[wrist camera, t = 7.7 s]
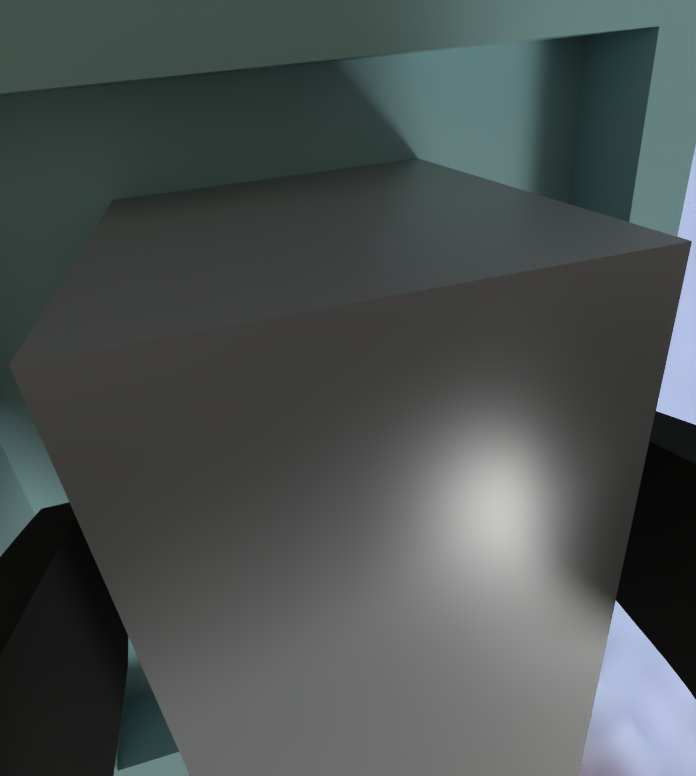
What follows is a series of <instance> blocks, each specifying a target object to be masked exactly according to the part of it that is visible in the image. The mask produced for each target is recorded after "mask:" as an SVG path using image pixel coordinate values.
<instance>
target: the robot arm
mask: <svg viewBox="0 0 696 776" xmlns="http://www.w3.org/2000/svg"><path fill="white" fill-rule="evenodd" d="M616 601H617V602H618V603H619V604H620V606H621V607H622V608H623V609H624V610H625V612H626V613H627V614H628V615H629V616H630V617H631V619H632V620H633V621H634V622H635V623H636V625H637V626H638V627H639V628H640V629H641V631H642V632H643V633H644V634H645V635H646V637H647V638H648V639H649V640H650V641H651V643H652V644H653V645H654V646H655V647H656V648H657V650H658V651H659V652H660V653H661V654H662V656H663V657H664V658H665V659H666V661H667V662H668V663H669V664H670V666H671V667H672V668H673V670H674V671H675V672H676V673H677V675H678V676H679V677H680V679H681V680H682V681H683V682H684V684H685V685H686V686H687V688H688V689H689V690H690V692H691V693H692V695H693V696H694V698H695V699H696V425H694V424H691V423H688V422H685V421H682V420H680V419H677V418H674V417H671V416H668V415H665V414H662V413H660V412H657V411H656V412H655V416H654V421H653V426H652V431H651V435H650V440H649V445H648V449H647V454H646V459H645V464H644V468H643V473H642V478H641V482H640V487H639V492H638V497H637V501H636V506H635V511H634V515H633V520H632V525H631V529H630V534H629V539H628V544H627V548H626V553H625V558H624V562H623V567H622V572H621V577H620V581H619V586H618V591H617V595H616ZM128 638H129V636H128V634H127V632H126V630H125V627H124V625H123V623H122V620H121V618H120V616H119V614H118V611H117V609H116V607H115V605H114V602H113V600H112V598H111V595H110V593H109V591H108V589H107V586H106V584H105V582H104V580H103V577H102V575H101V573H100V571H99V568H98V566H97V564H96V561H95V559H94V557H93V555H92V552H91V550H90V548H89V546H88V543H87V541H86V539H85V536H84V534H83V532H82V530H81V527H80V525H79V523H78V521H77V518H76V516H75V514H74V511H73V509H72V507H71V505H70V502H68V503H64V504H60V505H55V506H51V507H46V508H42V509H41V510H40V511H39V512H38V513H37V514H36V515H35V516H34V517H33V519H32V520H31V521H30V522H29V523H28V524H27V525H26V527H25V528H24V529H23V530H22V531H21V532H20V534H19V535H18V536H17V537H16V538H15V540H14V541H13V542H12V543H11V544H10V546H9V547H8V548H7V549H6V550H5V552H4V553H3V554H2V555H1V556H0V776H114V769H115V761H116V754H117V746H118V739H119V732H120V724H121V717H122V709H123V701H124V693H125V686H126V677H127V669H128Z"/></svg>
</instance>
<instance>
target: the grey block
mask: <svg viewBox="0 0 696 776" xmlns="http://www.w3.org/2000/svg"><path fill="white" fill-rule="evenodd" d="M691 242H692V241H689V240H686V239H683V238H680V237H676V236H673V235H670V234H666V233H663V232H660V231H656V230H653V229H650V228H646V227H643V226H640V225H637V224H633V223H630V222H627V221H623V220H620V219H617V218H613V217H610V216H607V215H604V214H600V213H597V212H594V211H590V210H587V209H584V208H580V207H577V206H574V205H571V204H567V203H564V202H561V201H557V200H554V199H551V198H547V197H544V196H541V195H537V194H534V193H531V192H528V191H524V190H521V189H518V188H514V187H511V186H508V185H504V184H501V183H498V182H495V181H491V180H488V179H485V178H481V177H478V176H475V175H471V174H468V173H465V172H462V171H458V170H455V169H452V168H448V167H445V166H442V165H438V164H435V163H432V162H429V161H425V160H422V159H419V158H417V159H409V160H402V161H395V162H388V163H380V164H373V165H366V166H358V167H351V168H344V169H337V170H329V171H322V172H315V173H308V174H300V175H293V176H286V177H279V178H271V179H264V180H257V181H249V182H242V183H235V184H228V185H220V186H213V187H206V188H199V189H191V190H184V191H177V192H170V193H162V194H155V195H148V196H140V197H133V198H126V199H119V200H113V201H112V202H111V204H110V205H109V207H108V208H107V210H106V212H105V213H104V215H103V216H102V218H101V220H100V221H99V223H98V224H97V226H96V228H95V229H94V231H93V232H92V234H91V236H90V237H89V239H88V240H87V242H86V244H85V245H84V247H83V248H82V250H81V251H80V253H79V255H78V256H77V258H76V259H75V261H74V263H73V264H72V266H71V267H70V269H69V271H68V272H67V274H66V275H65V277H64V279H63V280H62V282H61V283H60V285H59V287H58V288H57V290H56V291H55V293H54V294H53V296H52V298H51V299H50V301H49V302H48V304H47V306H46V307H45V309H44V310H43V312H42V314H41V315H40V317H39V318H38V320H37V322H36V323H35V325H34V326H33V328H32V329H31V331H30V333H29V334H28V336H27V337H26V339H25V341H24V342H23V344H22V345H21V347H20V349H19V350H18V352H17V353H16V355H15V357H14V358H13V360H12V361H11V363H10V365H9V366H10V368H11V371H12V373H13V375H14V378H15V380H16V382H17V384H18V387H19V389H20V391H21V393H22V396H23V398H24V400H25V402H26V405H27V407H28V409H29V412H30V414H31V416H32V418H33V421H34V423H35V425H36V427H37V430H38V432H39V434H40V437H41V439H42V441H43V443H44V446H45V448H46V450H47V452H48V455H49V457H50V459H51V462H52V464H53V466H54V468H55V471H56V473H57V475H58V477H59V480H60V482H61V484H62V487H63V489H64V491H65V493H66V496H67V498H68V500H69V502H70V505H71V507H72V509H73V511H74V514H75V516H76V518H77V521H78V523H79V525H80V527H81V530H82V532H83V534H84V536H85V539H86V541H87V543H88V546H89V548H90V550H91V552H92V555H93V557H94V559H95V561H96V564H97V566H98V568H99V571H100V573H101V575H102V577H103V580H104V582H105V584H106V586H107V589H108V591H109V593H110V595H111V598H112V600H113V602H114V605H115V607H116V609H117V611H118V614H119V616H120V618H121V620H122V623H123V625H124V627H125V630H126V632H127V634H128V636H129V639H130V641H131V643H132V645H133V648H134V650H135V652H136V655H137V657H138V659H139V661H140V664H141V666H142V668H143V670H144V673H145V675H146V677H147V680H148V682H149V684H150V686H151V689H152V691H153V693H154V695H155V698H156V700H157V702H158V704H159V707H160V709H161V711H162V714H163V716H164V718H165V720H166V723H167V725H168V727H169V729H170V732H171V734H172V736H173V739H174V741H175V743H176V745H177V748H178V750H179V752H180V754H181V757H182V759H183V761H184V764H185V766H186V768H187V770H188V773H189V775H190V776H578V774H579V770H580V765H581V760H582V756H583V751H584V746H585V741H586V737H587V732H588V727H589V723H590V718H591V713H592V709H593V704H594V699H595V694H596V690H597V685H598V680H599V676H600V671H601V666H602V661H603V657H604V652H605V647H606V643H607V638H608V633H609V628H610V624H611V619H612V614H613V610H614V605H615V600H616V595H617V591H618V586H619V581H620V577H621V572H622V567H623V562H624V558H625V553H626V548H627V544H628V539H629V534H630V529H631V525H632V520H633V515H634V511H635V506H636V501H637V497H638V492H639V487H640V482H641V478H642V473H643V468H644V464H645V459H646V454H647V449H648V445H649V440H650V435H651V431H652V426H653V421H654V416H655V412H656V407H657V402H658V398H659V393H660V388H661V383H662V379H663V374H664V369H665V365H666V360H667V355H668V350H669V346H670V341H671V336H672V332H673V327H674V322H675V317H676V313H677V308H678V303H679V299H680V294H681V289H682V285H683V280H684V275H685V270H686V266H687V261H688V256H689V252H690V247H691Z"/></svg>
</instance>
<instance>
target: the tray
mask: <svg viewBox="0 0 696 776" xmlns="http://www.w3.org/2000/svg"><path fill="white" fill-rule="evenodd" d="M695 144H696V0H0V556H1V555H2V554H3V553H4V552H5V550H6V549H7V548H8V547H9V546H10V544H11V543H12V542H13V541H14V540H15V538H16V537H17V536H18V535H19V534H20V532H21V531H22V530H23V529H24V528H25V527H26V525H27V524H28V523H29V522H30V521H31V520H32V519H33V517H34V516H35V515H36V514H37V513H38V512H39V511H40V510H41V509H42V508H46V507H51V506H55V505H60V504H64V503H68V502H69V500H68V498H67V496H66V493H65V491H64V489H63V487H62V484H61V482H60V480H59V477H58V475H57V473H56V471H55V468H54V466H53V464H52V462H51V459H50V457H49V455H48V452H47V450H46V448H45V446H44V443H43V441H42V439H41V437H40V434H39V432H38V430H37V427H36V425H35V423H34V421H33V418H32V416H31V414H30V412H29V409H28V407H27V405H26V402H25V400H24V398H23V396H22V393H21V391H20V389H19V387H18V384H17V382H16V380H15V378H14V375H13V373H12V371H11V368H10V366H9V365H10V363H11V361H12V360H13V358H14V357H15V355H16V353H17V352H18V350H19V349H20V347H21V345H22V344H23V342H24V341H25V339H26V337H27V336H28V334H29V333H30V331H31V329H32V328H33V326H34V325H35V323H36V322H37V320H38V318H39V317H40V315H41V314H42V312H43V310H44V309H45V307H46V306H47V304H48V302H49V301H50V299H51V298H52V296H53V294H54V293H55V291H56V290H57V288H58V287H59V285H60V283H61V282H62V280H63V279H64V277H65V275H66V274H67V272H68V271H69V269H70V267H71V266H72V264H73V263H74V261H75V259H76V258H77V256H78V255H79V253H80V251H81V250H82V248H83V247H84V245H85V244H86V242H87V240H88V239H89V237H90V236H91V234H92V232H93V231H94V229H95V228H96V226H97V224H98V223H99V221H100V220H101V218H102V216H103V215H104V213H105V212H106V210H107V208H108V207H109V205H110V204H111V202H112V201H113V200H119V199H126V198H133V197H140V196H148V195H155V194H162V193H170V192H177V191H184V190H191V189H199V188H206V187H213V186H220V185H228V184H235V183H242V182H249V181H257V180H264V179H271V178H279V177H286V176H293V175H300V174H308V173H315V172H322V171H329V170H337V169H344V168H351V167H358V166H366V165H373V164H380V163H388V162H395V161H402V160H409V159H417V158H419V159H422V160H425V161H429V162H432V163H435V164H438V165H442V166H445V167H448V168H452V169H455V170H458V171H462V172H465V173H468V174H471V175H475V176H478V177H481V178H485V179H488V180H491V181H495V182H498V183H501V184H504V185H508V186H511V187H514V188H518V189H521V190H524V191H528V192H531V193H534V194H537V195H541V196H544V197H547V198H551V199H554V200H557V201H561V202H564V203H567V204H571V205H574V206H577V207H580V208H584V209H587V210H590V211H594V212H597V213H600V214H604V215H607V216H610V217H613V218H617V219H620V220H623V221H627V222H630V223H633V224H637V225H640V226H643V227H646V228H650V229H653V230H656V231H660V232H663V233H666V234H670V235H673V236H676V237H677V235H678V230H679V224H680V219H681V214H682V209H683V204H684V199H685V194H686V189H687V184H688V179H689V174H690V169H691V164H692V159H693V154H694V149H695ZM114 776H189V773H188V770H187V768H186V766H185V764H184V761H183V759H182V757H181V754H180V752H179V750H178V748H177V745H176V743H175V741H174V739H173V736H172V734H171V732H170V729H169V727H168V725H167V723H166V720H165V718H164V716H163V714H162V711H161V709H160V707H159V704H158V702H157V700H156V698H155V695H154V693H153V691H152V689H151V686H150V684H149V682H148V680H147V677H146V675H145V673H144V670H143V668H142V666H141V664H140V661H139V659H138V657H137V655H136V652H135V650H134V648H133V645H132V643H131V641H130V639H129V638H128V669H127V677H126V686H125V693H124V701H123V709H122V717H121V724H120V732H119V739H118V746H117V754H116V761H115V769H114Z"/></svg>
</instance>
